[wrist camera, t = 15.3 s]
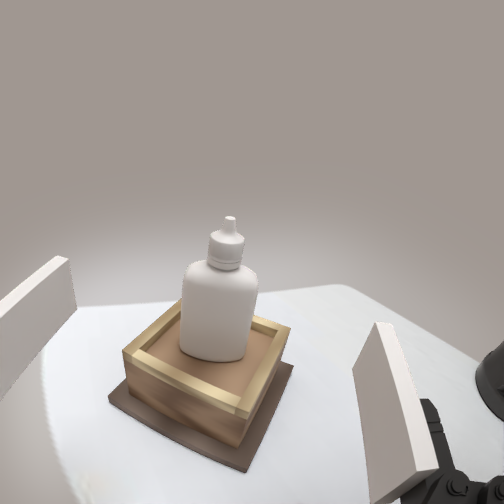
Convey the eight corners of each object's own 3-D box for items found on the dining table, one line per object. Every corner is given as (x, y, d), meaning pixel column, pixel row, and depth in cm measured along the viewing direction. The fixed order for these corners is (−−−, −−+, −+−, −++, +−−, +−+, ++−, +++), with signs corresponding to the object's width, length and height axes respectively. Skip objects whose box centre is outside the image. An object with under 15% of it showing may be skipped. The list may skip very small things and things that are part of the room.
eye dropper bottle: (200, 323, 29) (214, 201, 23) (251, 349, 26) (280, 223, 21) (171, 346, 25) (177, 213, 20) (226, 378, 23) (251, 240, 18)
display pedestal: (291, 371, 32) (308, 324, 30) (245, 473, 20) (262, 435, 17) (182, 328, 36) (185, 279, 33) (109, 401, 24) (96, 351, 21)
